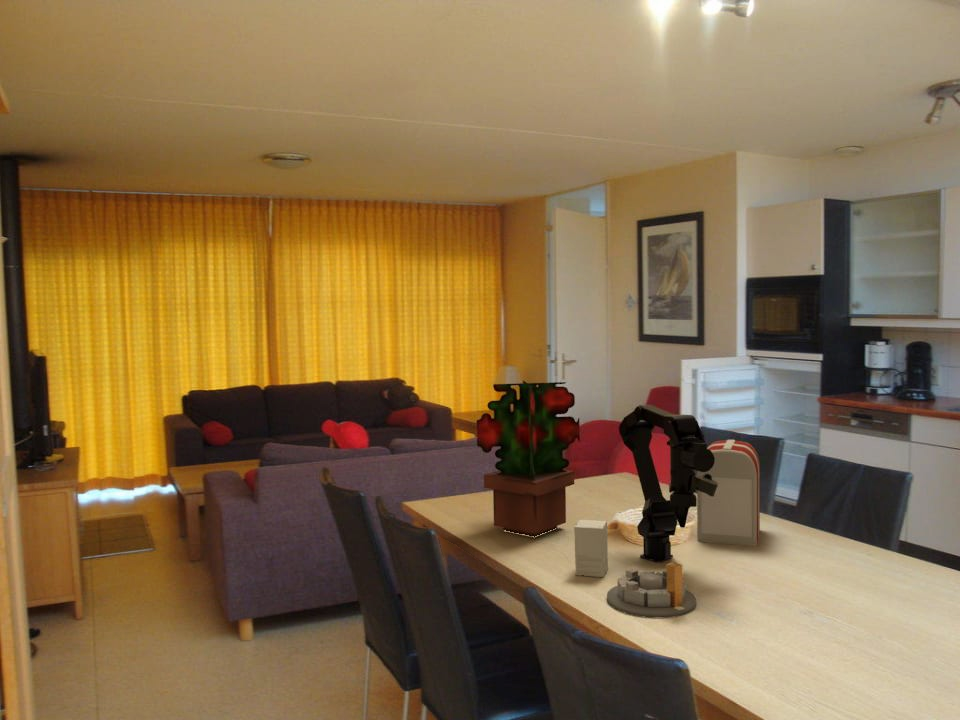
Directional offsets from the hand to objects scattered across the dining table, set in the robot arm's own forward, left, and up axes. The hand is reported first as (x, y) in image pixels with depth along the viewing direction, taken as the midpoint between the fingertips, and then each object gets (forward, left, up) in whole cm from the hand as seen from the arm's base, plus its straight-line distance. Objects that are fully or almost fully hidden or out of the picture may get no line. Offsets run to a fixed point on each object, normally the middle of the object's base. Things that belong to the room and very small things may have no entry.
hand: (682, 527), depth 200 cm
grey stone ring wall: (+5, -21, -11) cm, 24 cm away
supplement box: (-17, -15, -12) cm, 26 cm away
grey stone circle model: (+5, -21, -12) cm, 25 cm away
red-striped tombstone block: (-9, +38, -12) cm, 41 cm away
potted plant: (-55, +2, -12) cm, 57 cm away
